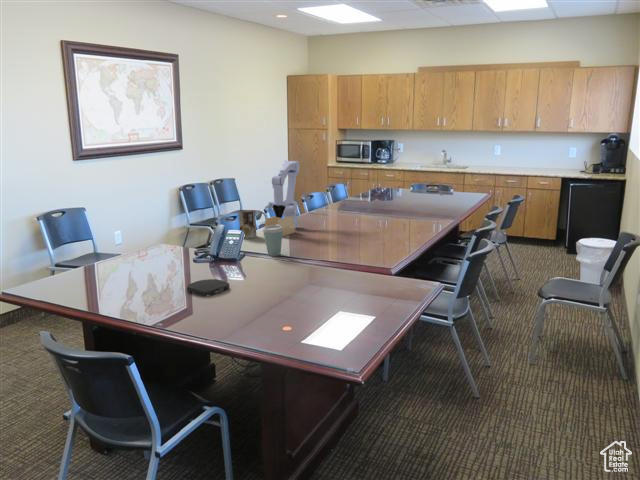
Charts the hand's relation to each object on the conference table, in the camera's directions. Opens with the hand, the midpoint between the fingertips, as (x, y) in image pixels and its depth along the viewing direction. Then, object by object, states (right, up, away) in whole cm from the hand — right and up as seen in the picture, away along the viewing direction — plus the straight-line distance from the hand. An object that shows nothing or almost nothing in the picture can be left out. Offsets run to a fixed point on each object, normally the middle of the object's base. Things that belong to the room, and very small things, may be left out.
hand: (279, 217), depth 326 cm
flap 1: (-5, -5, +5) cm, 8 cm away
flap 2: (+5, -7, -2) cm, 8 cm away
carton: (0, -10, +2) cm, 10 cm away
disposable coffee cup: (+1, -22, -48) cm, 53 cm away
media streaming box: (-22, -35, -105) cm, 113 cm away
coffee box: (-18, -12, -6) cm, 23 cm away
